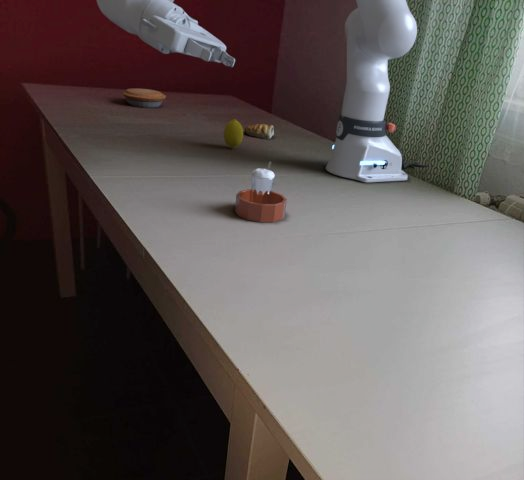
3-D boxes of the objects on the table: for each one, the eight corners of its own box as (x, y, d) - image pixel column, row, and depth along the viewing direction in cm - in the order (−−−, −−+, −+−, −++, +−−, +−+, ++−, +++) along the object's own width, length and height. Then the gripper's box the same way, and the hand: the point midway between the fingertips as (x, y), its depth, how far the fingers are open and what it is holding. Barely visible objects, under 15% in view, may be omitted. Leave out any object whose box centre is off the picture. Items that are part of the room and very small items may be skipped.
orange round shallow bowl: (275, 205, 117) (277, 189, 115) (290, 222, 109) (292, 205, 107) (230, 205, 114) (231, 188, 112) (243, 222, 106) (244, 205, 104)
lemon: (239, 152, 153) (241, 122, 149) (220, 149, 154) (222, 119, 150) (243, 148, 158) (246, 119, 154) (225, 145, 158) (227, 116, 154)
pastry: (242, 135, 172) (243, 122, 170) (246, 131, 178) (247, 119, 176) (270, 139, 171) (272, 127, 169) (274, 136, 177) (275, 123, 175)
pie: (116, 105, 192) (115, 89, 190) (131, 99, 205) (131, 84, 203) (157, 111, 191) (157, 95, 188) (170, 104, 204) (171, 90, 201)
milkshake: (275, 212, 113) (281, 164, 107) (264, 219, 108) (270, 169, 103) (255, 207, 114) (260, 159, 108) (244, 214, 110) (248, 164, 104)
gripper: (140, -2, 96) (203, 35, 94) (196, 19, 114) (249, 50, 112) (130, 35, 99) (190, 71, 97) (185, 50, 117) (237, 81, 115)
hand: (222, 60), depth 105 cm, fingers open, 8 cm apart
